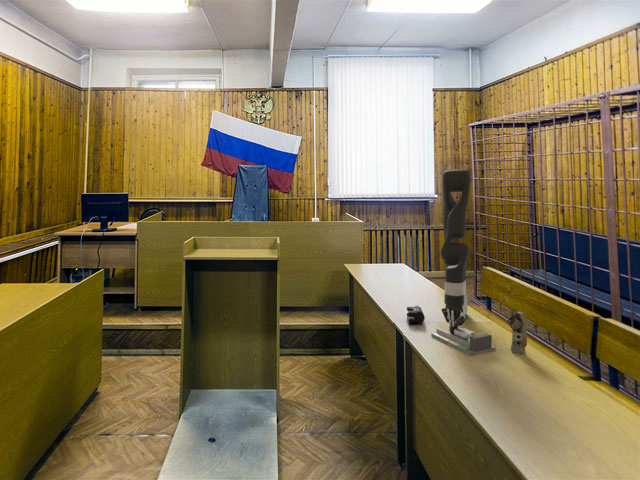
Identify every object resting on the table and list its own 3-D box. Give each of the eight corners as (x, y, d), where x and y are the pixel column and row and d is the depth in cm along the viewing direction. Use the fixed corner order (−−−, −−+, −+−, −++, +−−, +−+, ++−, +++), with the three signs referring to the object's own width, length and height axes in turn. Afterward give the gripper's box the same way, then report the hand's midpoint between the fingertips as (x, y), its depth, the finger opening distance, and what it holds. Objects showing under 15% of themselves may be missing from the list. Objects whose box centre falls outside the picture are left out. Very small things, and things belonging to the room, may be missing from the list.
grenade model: (502, 350, 138) (503, 311, 136) (520, 349, 138) (521, 310, 137) (513, 357, 131) (514, 316, 130) (531, 356, 132) (533, 315, 131)
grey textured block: (462, 337, 148) (462, 327, 148) (476, 343, 141) (477, 333, 141) (454, 339, 147) (454, 329, 146) (467, 345, 140) (468, 335, 139)
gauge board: (454, 331, 158) (454, 317, 158) (495, 350, 138) (496, 334, 137) (431, 336, 154) (431, 321, 153) (470, 356, 134) (470, 339, 133)
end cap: (424, 326, 167) (424, 311, 166) (408, 325, 168) (408, 311, 167) (421, 319, 177) (422, 305, 176) (406, 318, 178) (406, 305, 177)
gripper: (474, 295, 143) (473, 338, 145) (450, 288, 155) (450, 328, 157) (458, 297, 140) (457, 341, 142) (435, 290, 153) (435, 330, 154)
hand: (453, 334), depth 150 cm, fingers closed
